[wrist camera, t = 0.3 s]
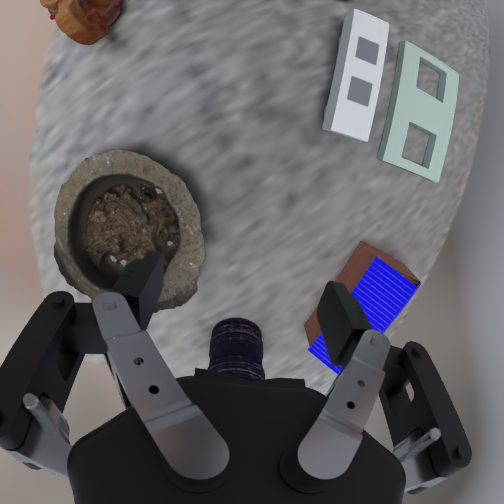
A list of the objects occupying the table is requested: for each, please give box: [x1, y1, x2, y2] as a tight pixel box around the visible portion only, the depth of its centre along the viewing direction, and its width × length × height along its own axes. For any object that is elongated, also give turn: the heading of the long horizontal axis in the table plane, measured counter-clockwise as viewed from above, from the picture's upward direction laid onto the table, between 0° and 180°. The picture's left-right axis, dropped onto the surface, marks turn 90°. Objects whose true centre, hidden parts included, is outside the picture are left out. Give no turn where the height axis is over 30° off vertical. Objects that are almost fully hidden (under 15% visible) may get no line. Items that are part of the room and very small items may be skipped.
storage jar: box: [207, 318, 265, 381], centre depth 44 cm, size 10×10×15 cm
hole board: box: [377, 40, 459, 183], centre depth 32 cm, size 21×12×2 cm, turn 169°
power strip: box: [322, 9, 389, 142], centre depth 28 cm, size 18×5×7 cm, turn 169°
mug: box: [40, 0, 122, 45], centre depth 18 cm, size 15×8×15 cm, turn 21°
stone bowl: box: [54, 149, 205, 313], centre depth 37 cm, size 25×25×9 cm
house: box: [304, 241, 421, 374], centre depth 43 cm, size 12×20×12 cm, turn 155°
